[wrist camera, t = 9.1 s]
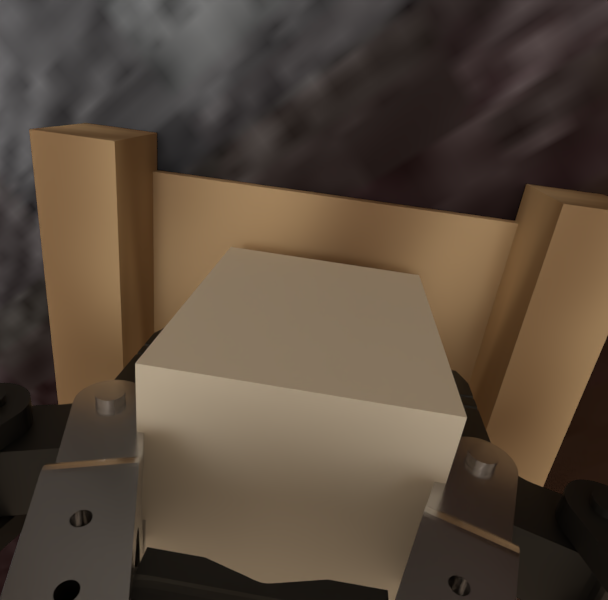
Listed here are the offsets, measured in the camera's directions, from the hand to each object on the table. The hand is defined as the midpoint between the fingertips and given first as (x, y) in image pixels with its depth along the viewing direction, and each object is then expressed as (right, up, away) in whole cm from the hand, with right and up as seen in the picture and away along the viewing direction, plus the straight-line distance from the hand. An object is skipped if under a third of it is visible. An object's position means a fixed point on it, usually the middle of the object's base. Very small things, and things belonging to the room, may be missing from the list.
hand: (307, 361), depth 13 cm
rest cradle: (0, 0, +3) cm, 3 cm away
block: (0, 0, +1) cm, 1 cm away
